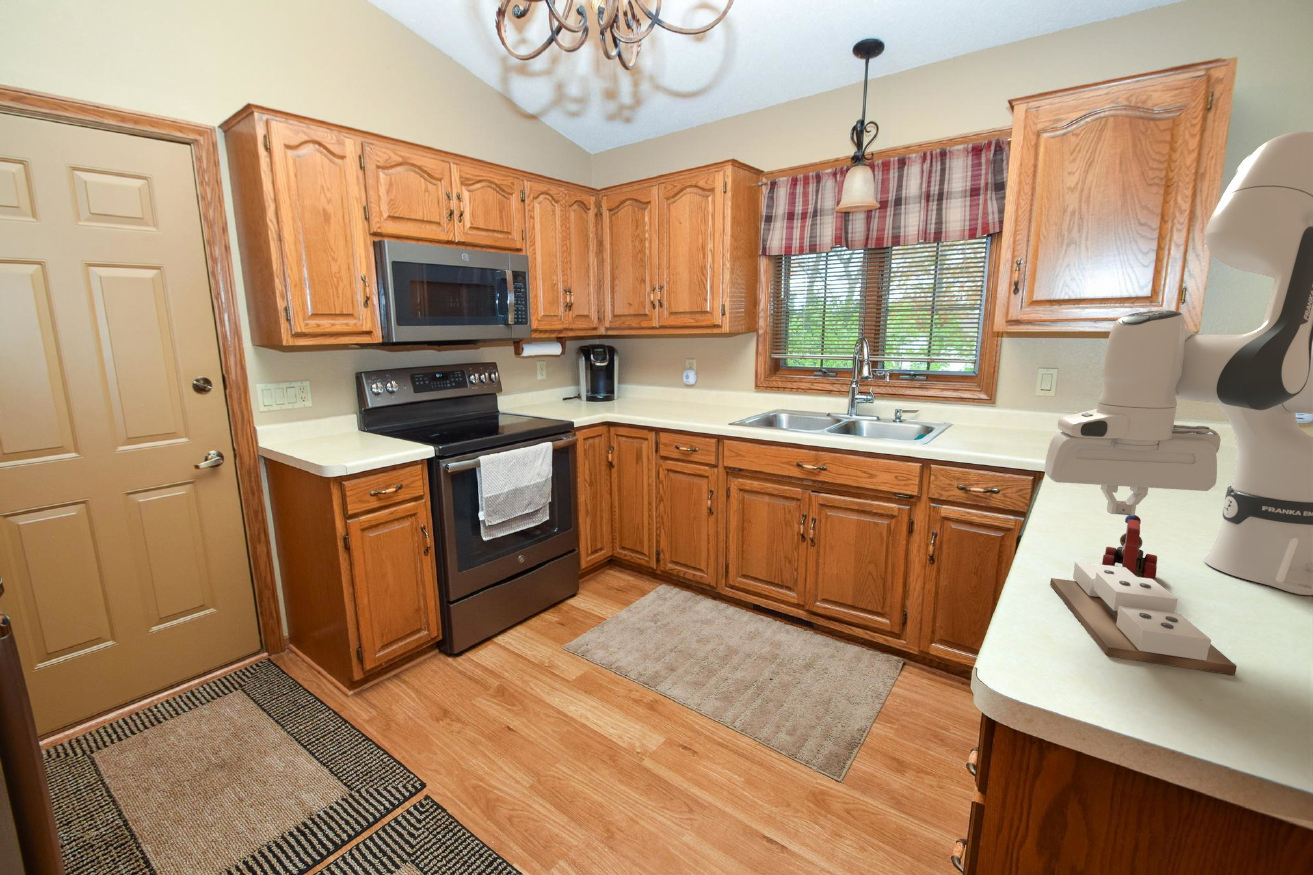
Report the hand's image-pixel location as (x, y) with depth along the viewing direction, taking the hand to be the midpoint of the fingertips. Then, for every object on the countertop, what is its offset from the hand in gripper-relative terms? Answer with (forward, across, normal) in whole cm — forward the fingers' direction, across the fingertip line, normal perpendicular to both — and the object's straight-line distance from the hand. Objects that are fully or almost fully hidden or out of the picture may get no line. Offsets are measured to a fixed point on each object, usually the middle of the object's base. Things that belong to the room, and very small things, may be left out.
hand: (1120, 513), depth 86 cm
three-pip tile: (+12, +1, +16) cm, 20 cm away
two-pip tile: (+11, +1, +8) cm, 14 cm away
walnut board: (+14, +1, +8) cm, 16 cm away
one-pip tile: (+12, +1, 0) cm, 12 cm away
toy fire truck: (+14, -6, -11) cm, 19 cm away
